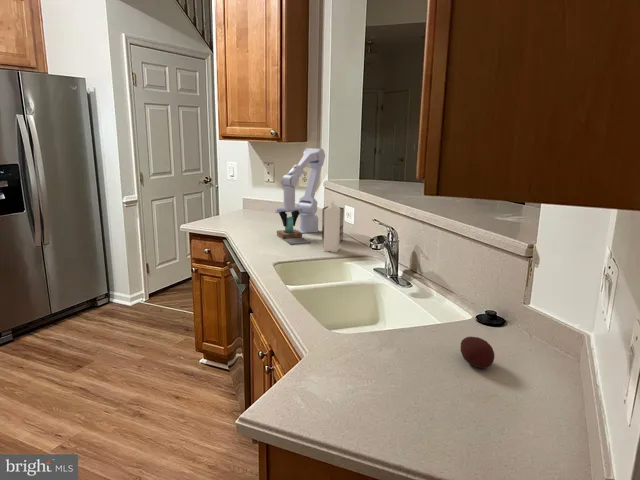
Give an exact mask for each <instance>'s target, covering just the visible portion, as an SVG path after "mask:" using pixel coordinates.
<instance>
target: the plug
mask: <svg viewBox="0 0 640 480" xmlns="http://www.w3.org/2000/svg"><path fill="white" fill-rule="evenodd" d="M293 229H294V226H293V217H292V215H290V216H289V215H287V219H286V227H284V230H285V233H293Z"/></svg>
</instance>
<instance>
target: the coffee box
mask: <svg viewBox="0 0 640 480" xmlns="http://www.w3.org/2000/svg"><path fill="white" fill-rule="evenodd" d="M328 207H329V206H324V207H322V209H321V211H322V212H321V213H322V215H321V216H322V217H321V218H322V219H321V220H322V221H321V222H322V225H321V226H322V227H321V228H322V229H321V240H322V241H324V210H325V209H326V208H328ZM339 208H340V234H339V242H341V241H344V216H345V215H344V214H345V213H344V208H345V207H339Z"/></svg>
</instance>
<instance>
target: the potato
mask: <svg viewBox="0 0 640 480" xmlns="http://www.w3.org/2000/svg"><path fill="white" fill-rule="evenodd" d="M459 351H460V353H461V356H462V358H463V359H464V360H465V361H466V362H467V363H468V364H470V365H471V364H472V366H473V365H474V366H473V367H475V366H477V367H476V368H478V367H481V368H480V369H487V368H489V367H491V365H492V364H493V363H494V361H495V352H494V350H493V347H492V346H491V344H489V343H488V341H487V340H485V339H483V338H482V337H481V338H480V337H478V336H477V337H476V336H467V337H464V338H463V339H461V341H460V350H459Z"/></svg>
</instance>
